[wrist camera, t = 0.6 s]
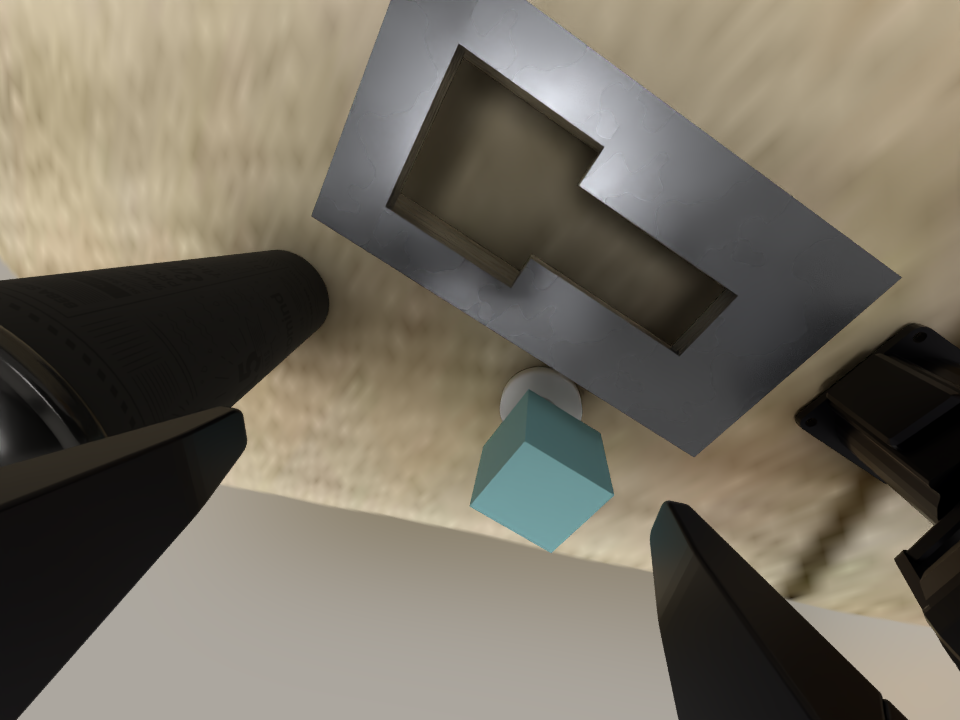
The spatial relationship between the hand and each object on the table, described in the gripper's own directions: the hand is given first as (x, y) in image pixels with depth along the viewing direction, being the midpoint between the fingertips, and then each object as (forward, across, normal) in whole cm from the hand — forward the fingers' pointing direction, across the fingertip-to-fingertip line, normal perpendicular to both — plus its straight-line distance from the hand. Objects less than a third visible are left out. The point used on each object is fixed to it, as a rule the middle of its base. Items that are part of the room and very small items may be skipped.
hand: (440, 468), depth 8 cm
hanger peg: (+13, -3, +6) cm, 15 cm away
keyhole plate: (+13, -3, -4) cm, 14 cm away
